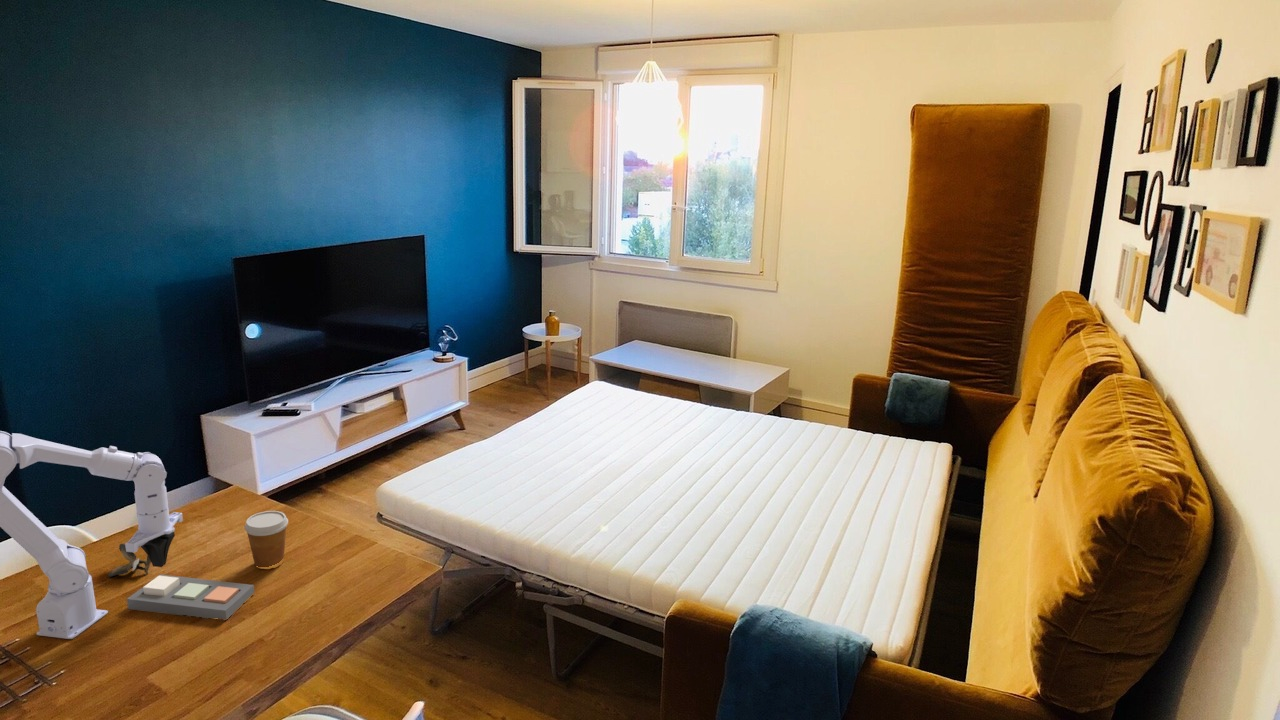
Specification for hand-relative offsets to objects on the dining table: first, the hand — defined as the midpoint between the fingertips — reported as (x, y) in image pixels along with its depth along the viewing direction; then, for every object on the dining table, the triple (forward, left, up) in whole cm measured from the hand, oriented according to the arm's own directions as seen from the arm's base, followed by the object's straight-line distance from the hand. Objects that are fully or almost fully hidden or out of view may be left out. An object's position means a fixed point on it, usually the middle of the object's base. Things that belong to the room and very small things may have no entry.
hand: (159, 565), depth 162 cm
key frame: (0, -7, -8) cm, 11 cm away
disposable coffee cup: (+18, -14, -8) cm, 24 cm away
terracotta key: (0, -14, -8) cm, 16 cm away
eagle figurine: (+8, +14, -9) cm, 18 cm away
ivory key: (0, 0, -7) cm, 7 cm away
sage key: (0, -7, -8) cm, 11 cm away
